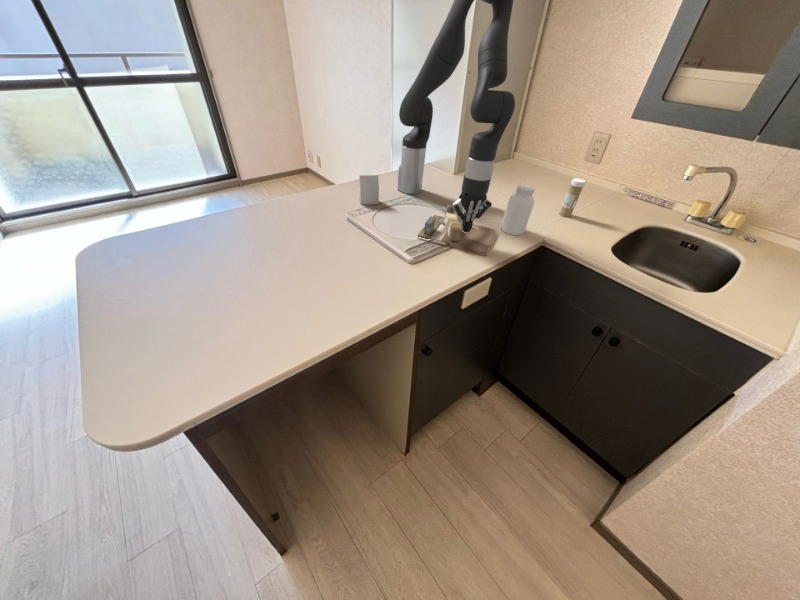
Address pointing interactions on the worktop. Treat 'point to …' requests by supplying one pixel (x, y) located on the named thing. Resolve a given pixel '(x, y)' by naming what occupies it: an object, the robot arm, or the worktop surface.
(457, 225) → the stool leg
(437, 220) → the board
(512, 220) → the pill bottle
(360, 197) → the grey upright block
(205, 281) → the worktop surface
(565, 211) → the sprinkles bottle
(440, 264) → the worktop surface
